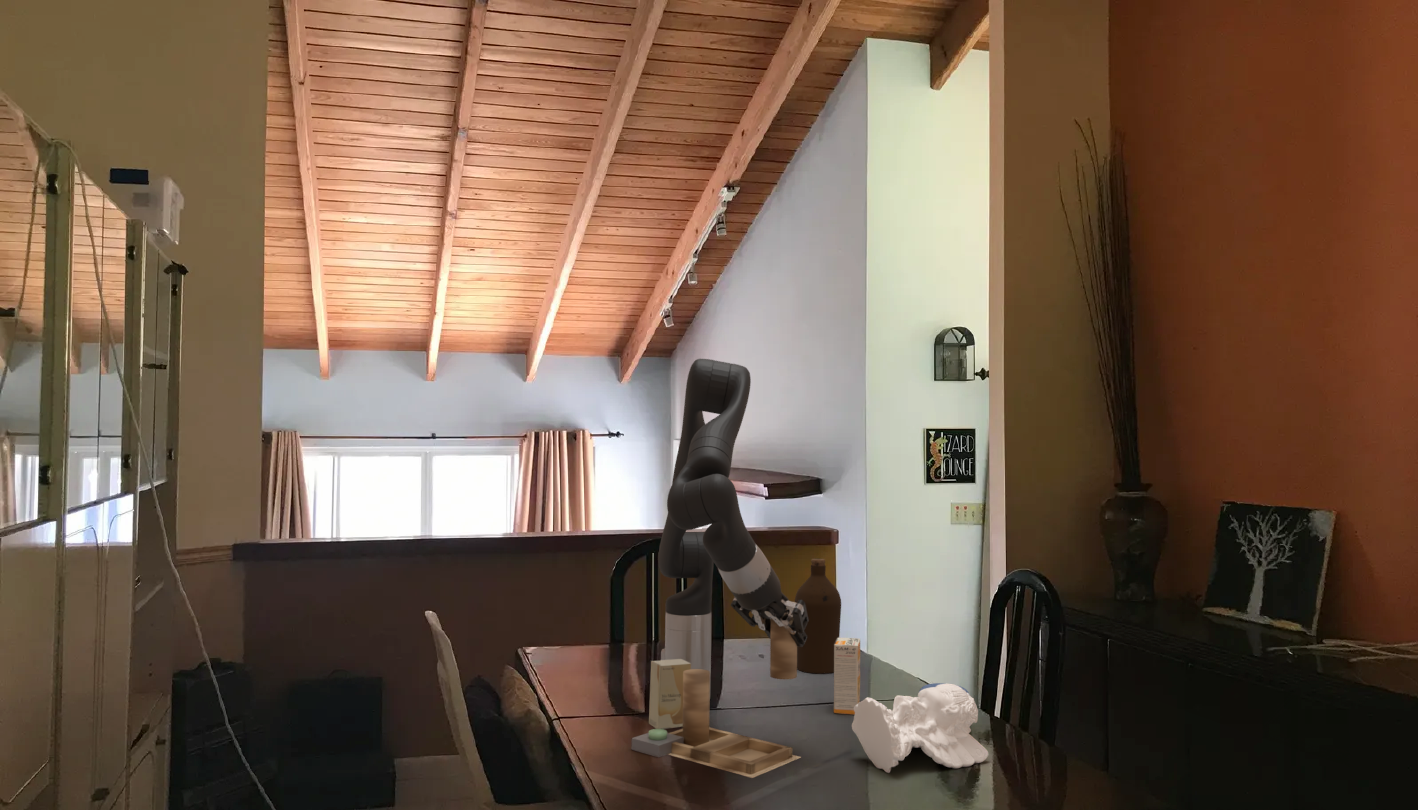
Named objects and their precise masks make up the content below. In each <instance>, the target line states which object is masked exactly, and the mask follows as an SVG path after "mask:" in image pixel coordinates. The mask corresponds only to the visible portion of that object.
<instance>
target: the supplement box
mask: <svg viewBox="0 0 1418 810" xmlns="http://www.w3.org/2000/svg"><path fill="white" fill-rule="evenodd" d="M860 697H861V638H858V637H839V638H837V640H836V642H835V644H834V672H833V713H834V714H840V715H841V714H842V715H855V711H854V706H856V705H857V704H858V703H859V702H861V700H860V699H861V698H860Z"/></svg>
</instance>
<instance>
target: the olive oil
mask: <svg viewBox="0 0 1418 810" xmlns="http://www.w3.org/2000/svg"><path fill="white" fill-rule="evenodd" d="M810 562H811V564H810V576H809V577H808V578H807V579H806V580H805V581H804V583H803V584H801V586H799V588H798V589H797V591H796V595H795V597H794V602H796V603H797V602H798V600H803V601H804V602H805V605H806V610H807V614H808V619H809V621H808V623H807V625H806V627H805V629H804V631H805V633H806V635H807V639H806V641H805V644H804V645H803V647H798V646H797V671H798V670H799V671H800V672H804V673H808V674H821V675H822V674H823V675H824V674H832V673H833V674H834V644H835V642H836V640H837V638H840V633H841V631H840V630H841V629H840V628H841V617H842V616H841V614H842V613H841V612H842V599H841V595H840V592H839V590H838V589H837V588H836V586H835V585H834V584H833V583H832V582H831V581H830V580H829V579H828V577H827V575H826V566H827V565H826V559H825V558H811V561H810Z"/></svg>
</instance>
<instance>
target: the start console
mask: <svg viewBox="0 0 1418 810" xmlns="http://www.w3.org/2000/svg"><path fill="white" fill-rule="evenodd" d="M669 733H670V732H668V731H667V730H666V729H656V728H652V729H650V730H648V732H647V733H643V734H641V735H637V736H634V737H632V738H631V750H632V751H634V752H637V753H642V754H644V755H645V754H646V755H649V756H652V757H656V758H660V757H664V756H667V754H669V753H671V748H672V743H674V742H678V743H682V744H684V737H681V736H677V735H673V734H669Z"/></svg>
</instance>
